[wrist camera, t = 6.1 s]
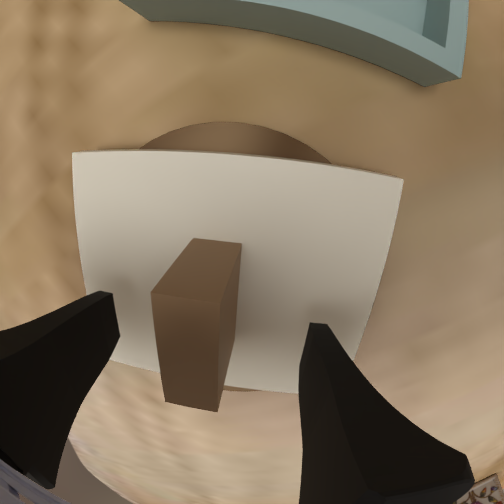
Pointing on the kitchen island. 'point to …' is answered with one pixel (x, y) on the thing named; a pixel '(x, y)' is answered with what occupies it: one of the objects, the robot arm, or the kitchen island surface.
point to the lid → (230, 260)
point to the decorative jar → (484, 492)
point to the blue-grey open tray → (345, 28)
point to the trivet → (235, 148)
